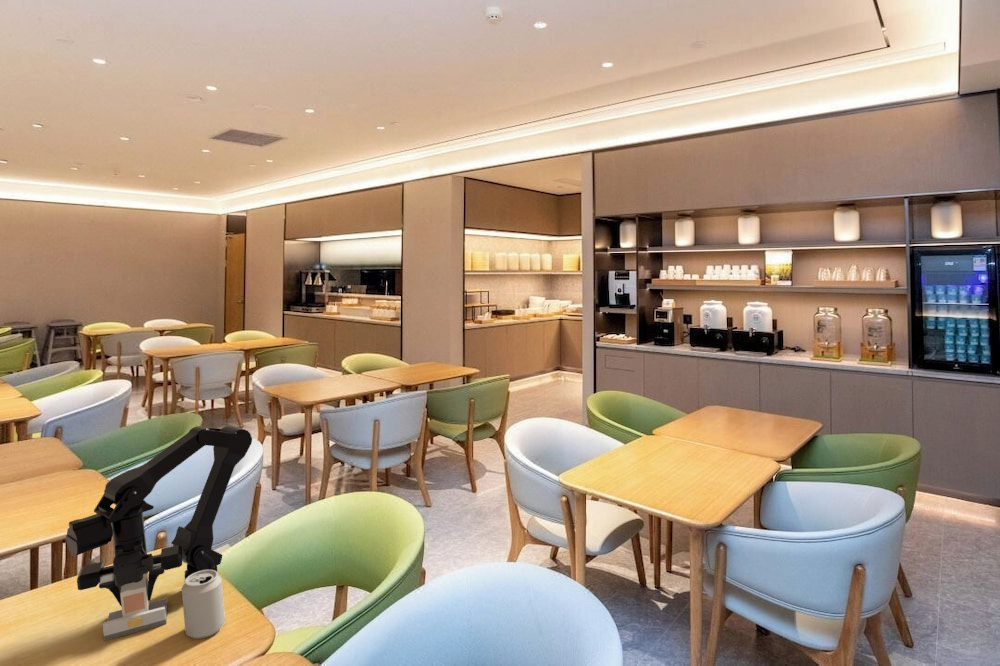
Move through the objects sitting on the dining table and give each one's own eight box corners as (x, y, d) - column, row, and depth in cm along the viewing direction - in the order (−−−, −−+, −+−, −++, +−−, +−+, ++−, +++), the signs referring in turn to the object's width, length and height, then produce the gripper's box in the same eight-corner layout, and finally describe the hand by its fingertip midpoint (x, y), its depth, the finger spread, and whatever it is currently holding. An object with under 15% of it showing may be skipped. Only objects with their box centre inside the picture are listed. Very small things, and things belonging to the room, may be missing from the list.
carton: (126, 603, 125) (123, 578, 125) (149, 597, 127) (147, 572, 127) (122, 620, 119) (120, 593, 119) (147, 613, 122) (145, 587, 121)
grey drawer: (167, 602, 130) (166, 588, 130) (165, 624, 122) (164, 609, 121) (109, 617, 125) (108, 602, 124) (104, 641, 117) (102, 625, 116)
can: (209, 643, 116) (204, 588, 114) (177, 639, 117) (172, 584, 116) (233, 620, 123) (229, 568, 121) (202, 616, 124) (198, 565, 123)
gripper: (68, 564, 110) (77, 638, 112) (178, 540, 119) (184, 609, 121) (78, 540, 120) (86, 608, 122) (179, 519, 129) (185, 583, 131)
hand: (136, 603), depth 123 cm, fingers closed on carton, 4 cm apart
